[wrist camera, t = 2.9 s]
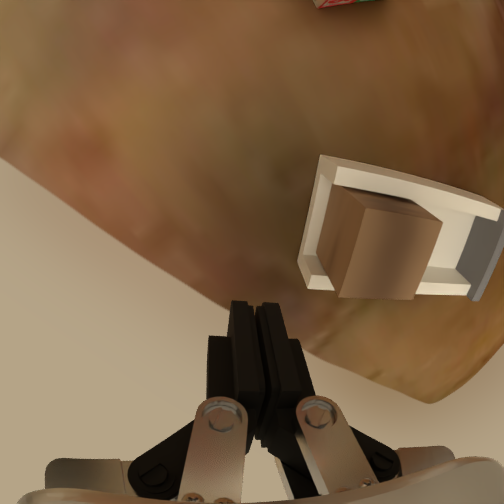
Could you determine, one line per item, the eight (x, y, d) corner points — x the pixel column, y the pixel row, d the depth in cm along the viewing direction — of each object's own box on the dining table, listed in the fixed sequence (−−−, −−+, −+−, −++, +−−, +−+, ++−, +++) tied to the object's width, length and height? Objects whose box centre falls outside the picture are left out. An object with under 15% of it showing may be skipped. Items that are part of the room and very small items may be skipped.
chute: (482, 196, 24) (514, 215, 19) (453, 274, 28) (478, 301, 24) (320, 154, 22) (343, 169, 17) (297, 261, 26) (310, 296, 21)
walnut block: (400, 192, 22) (443, 222, 17) (380, 258, 25) (412, 299, 20) (333, 179, 21) (365, 207, 16) (315, 252, 24) (338, 297, 19)
